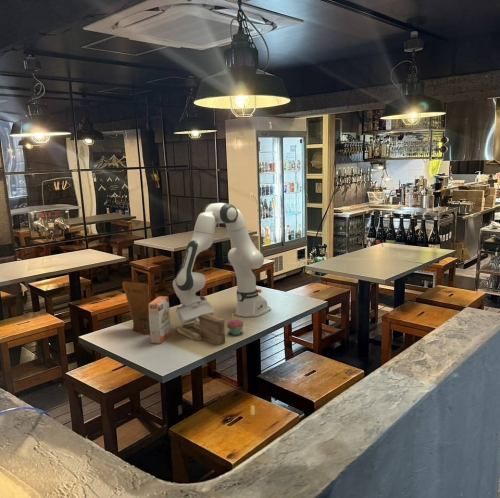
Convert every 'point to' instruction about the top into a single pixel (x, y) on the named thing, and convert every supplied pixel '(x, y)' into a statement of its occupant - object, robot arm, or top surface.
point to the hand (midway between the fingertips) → (203, 325)
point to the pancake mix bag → (138, 305)
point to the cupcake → (235, 326)
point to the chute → (184, 331)
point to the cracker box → (159, 319)
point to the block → (212, 328)
